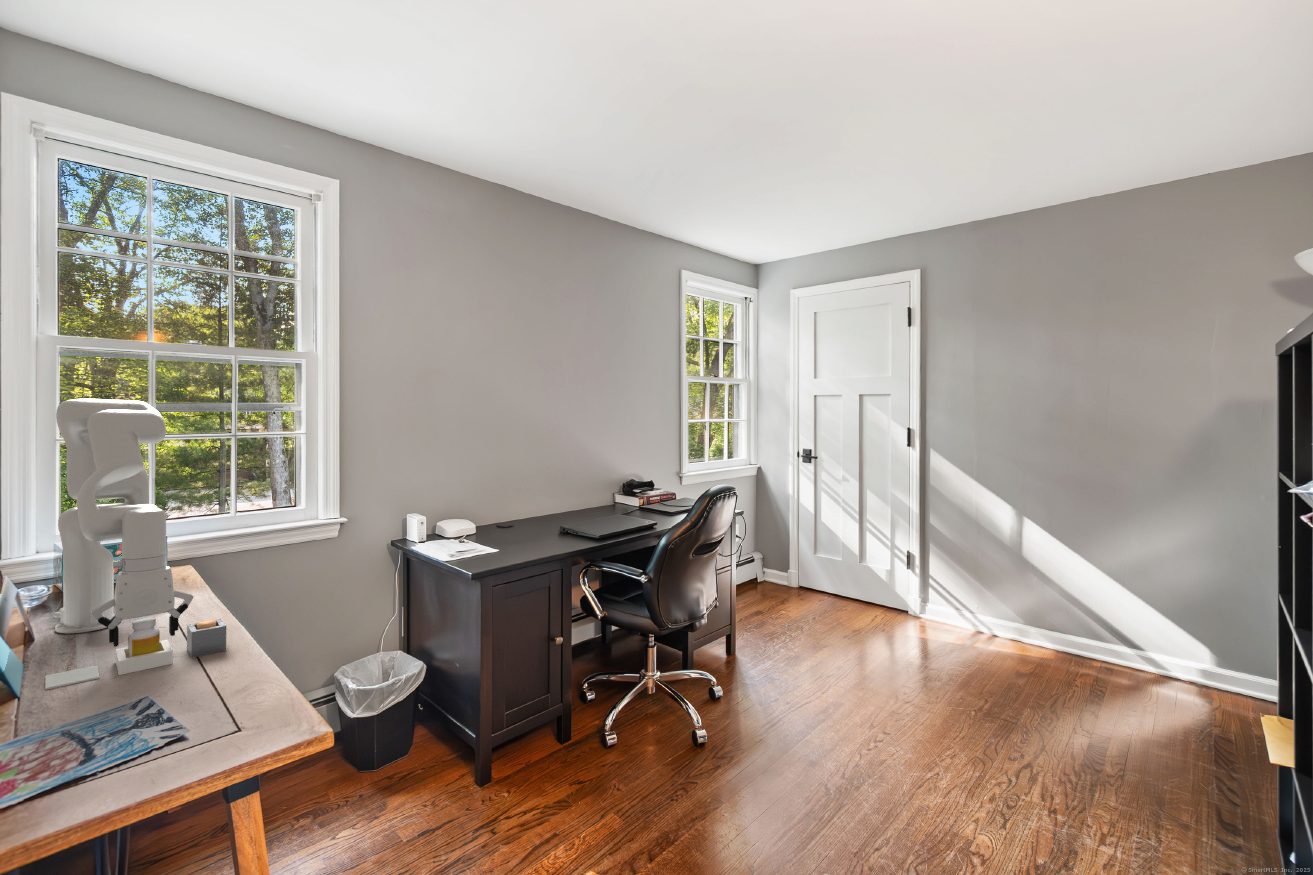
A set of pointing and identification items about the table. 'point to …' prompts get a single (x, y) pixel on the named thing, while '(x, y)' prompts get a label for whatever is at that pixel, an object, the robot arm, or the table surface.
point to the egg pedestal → (206, 639)
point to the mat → (71, 677)
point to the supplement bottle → (143, 637)
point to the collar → (143, 659)
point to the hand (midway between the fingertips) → (144, 639)
